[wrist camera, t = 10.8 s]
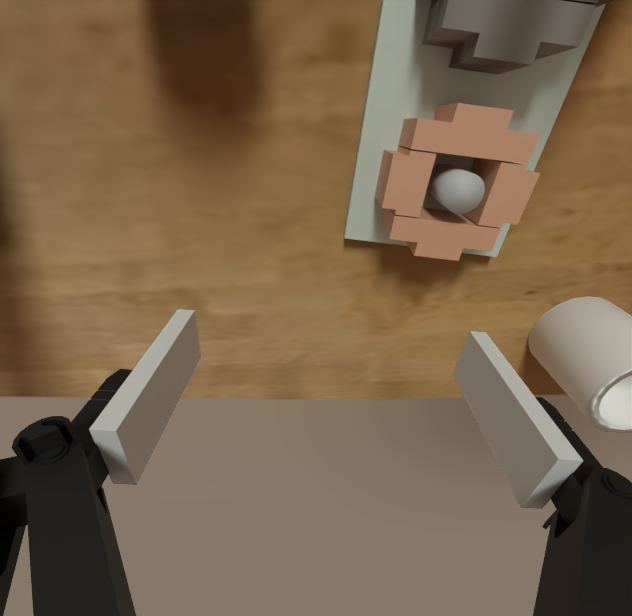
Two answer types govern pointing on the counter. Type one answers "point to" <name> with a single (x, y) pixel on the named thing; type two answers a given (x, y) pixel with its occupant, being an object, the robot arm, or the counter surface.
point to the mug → (589, 358)
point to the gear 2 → (489, 164)
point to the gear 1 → (506, 30)
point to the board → (441, 89)
